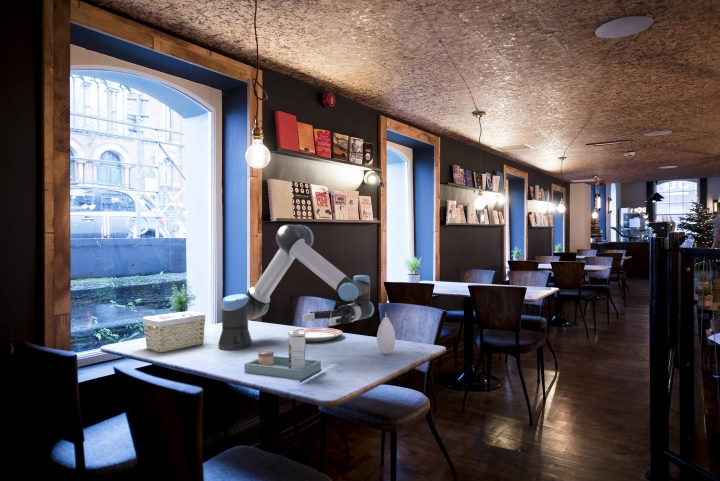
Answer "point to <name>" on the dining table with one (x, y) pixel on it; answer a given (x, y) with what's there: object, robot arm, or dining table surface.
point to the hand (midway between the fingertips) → (316, 320)
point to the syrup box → (297, 350)
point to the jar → (265, 358)
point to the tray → (284, 368)
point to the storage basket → (174, 330)
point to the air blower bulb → (386, 336)
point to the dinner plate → (319, 334)
